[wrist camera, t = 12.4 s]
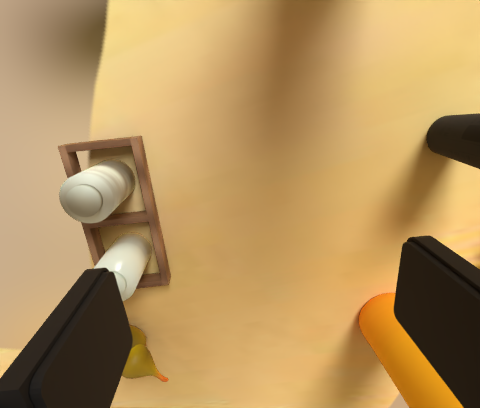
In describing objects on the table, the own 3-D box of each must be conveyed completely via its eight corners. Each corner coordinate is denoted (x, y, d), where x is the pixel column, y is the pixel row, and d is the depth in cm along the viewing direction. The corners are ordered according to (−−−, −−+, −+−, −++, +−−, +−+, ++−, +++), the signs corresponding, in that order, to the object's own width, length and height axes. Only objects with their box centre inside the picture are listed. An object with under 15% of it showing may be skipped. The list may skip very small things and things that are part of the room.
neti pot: (165, 362, 47) (156, 401, 40) (81, 317, 43) (57, 353, 37) (181, 345, 46) (175, 382, 40) (96, 298, 42) (75, 331, 36)
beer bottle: (416, 288, 45) (720, 571, 18) (407, 335, 48) (653, 637, 21) (359, 292, 45) (581, 589, 17) (353, 339, 48) (533, 654, 20)
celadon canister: (109, 234, 39) (78, 269, 30) (147, 230, 39) (127, 264, 31) (118, 267, 40) (92, 309, 32) (155, 263, 41) (138, 303, 32)
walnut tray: (66, 143, 34) (17, 156, 26) (141, 135, 35) (116, 145, 26) (108, 284, 41) (80, 329, 33) (170, 276, 41) (158, 319, 33)
